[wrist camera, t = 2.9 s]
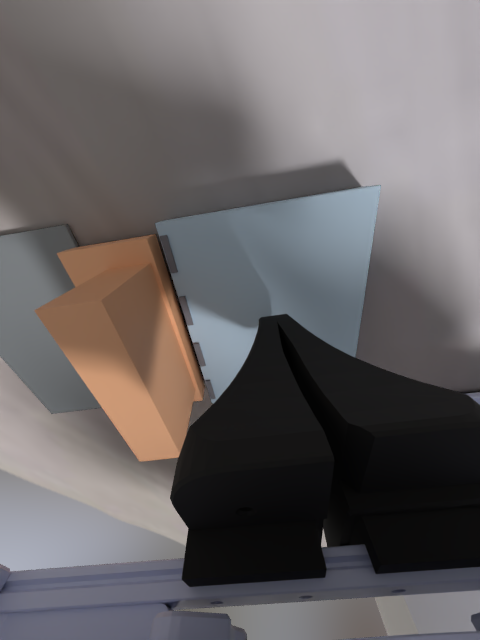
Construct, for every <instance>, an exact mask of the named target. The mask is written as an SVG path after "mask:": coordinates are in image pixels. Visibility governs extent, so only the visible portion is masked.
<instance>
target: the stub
mask: <svg viewBox="0 0 480 640" xmlns="http://www.w3.org/2000/svg"><path fill="white" fill-rule="evenodd" d="M57 255H58V257H59V259H60V261H61V262H62V264H63V266H64V268H65V269H66V271H67V273H68V275H69V277H70V278H71V280H72V282H73V284H74V286H75V288H73V289H72V290H70V291H68V292H66V293H64V294H63V295H61V296H59V297H57V298H55V299H54V300H52V301H50V302H48V303H46V304H45V305H43V306H41V307H39V308H37V309H36V310H34V311H35V313H36V314H37V316H38V317H39V318H40V320H41V321H42V323H43V324H44V326H45V327H46V328H47V330H48V331H49V333H50V334H51V336H52V337H53V338H54V340H55V341H56V343H57V344H58V346H59V347H60V348H61V350H62V351H63V353H64V354H65V356H66V357H67V358H68V360H69V361H70V363H71V364H72V366H73V367H74V368H75V370H76V371H77V373H78V374H79V376H80V377H81V378H82V380H83V381H84V383H85V384H86V386H87V387H88V388H89V390H90V391H91V393H92V394H93V395H94V397H95V398H96V400H97V401H98V403H99V404H100V405H101V407H102V408H103V410H104V411H105V413H106V414H107V415H108V417H109V418H110V420H111V421H112V423H113V424H114V425H115V427H116V428H117V430H118V431H119V433H120V434H121V435H122V437H123V438H124V440H125V441H126V443H127V444H128V445H129V447H130V448H131V450H132V451H133V453H134V454H135V455H136V457H137V458H138V460H139V461H140V462H141V461H151V460H160V459H170V458H179V455H180V452H181V449H182V446H183V443H184V440H185V437H186V434H187V429H188V424H189V419H190V414H191V410H192V405H193V401H202V400H203V394H204V388H205V385H204V382H203V379H202V376H201V373H200V370H199V367H198V364H197V360H196V357H195V354H194V351H193V348H192V345H191V342H190V339H189V336H188V333H187V329H186V326H185V323H184V320H183V317H182V314H181V311H180V308H179V305H178V301H177V298H176V295H175V292H174V289H173V286H172V283H171V280H170V277H169V273H168V270H167V267H166V264H165V261H164V258H163V255H162V252H161V249H160V246H159V242H158V239H157V236H156V234H154V235H148V236H142V237H136V238H130V239H124V240H118V241H112V242H106V243H100V244H94V245H87V246H81V247H75V248H72V249H69V250H65V251H62V252H59V253H57Z"/></svg>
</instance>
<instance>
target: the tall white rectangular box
mask: <svg viewBox="0 0 480 640" xmlns="http://www.w3.org/2000/svg"><path fill="white" fill-rule="evenodd" d="M375 600H376V603H377V606H378V609H379V611H380V614H381V617H382V620H383V623H384V626H385V628H386V631H387V634H388V636H394V635H410V634H428V633H447V632H467V631H476V629H475V627H474V626H473V624H472V622H471V615H473V614H476V613H480V590H477V591H462V592H446V593H430V594H415V595H399V596H383V597H375Z"/></svg>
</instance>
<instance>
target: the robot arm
mask: <svg viewBox="0 0 480 640" xmlns="http://www.w3.org/2000/svg"><path fill="white" fill-rule="evenodd" d="M170 499H171V501H172V504H173V506H174V508H175V509H176V511H177V512H178V514H179V515H180V517H181V518H182V520H183V521H184V522H185V524H186V525H187V527H188V528H189V529H188V536H187V543H186V551H185V558H180V559H167V560H154V561H141V562H128V563H115V564H102V565H89V566H76V567H64V568H50V569H37V570H26V571H25V570H24V571H12V572H10V569H9V568H7V567H5V566H3V565H1V564H0V640H247V634H246V632H245V630H244V629H242V628H239V627H236V626H233V625H231V619H230V618H229V616H228V615H227V614H221V613H220V614H219V613H204V612H190V611H174V610H178V609H179V610H180V609H194V608H210V607H226V606H241V605H258V604H273V603H288V602H304V601H319V600H320V601H321V600H336V599H352V598H367V597H383V596H399V595H415V594H430V593H446V592H462V591H477V590H480V392H476V393H467V394H463V393H459V392H455V391H452V390H448V389H444V388H441V387H437V386H434V385H430V384H426V383H423V382H419V381H416V380H413V379H410V378H407V377H404V376H401V375H398V374H395V373H392V372H389V371H386V370H384V369H381V368H378V367H376V366H373V365H371V364H369V363H366V362H364V361H361V360H359V359H357V358H355V357H353V356H350V355H348V354H347V353H345V352H343V351H341V350H339V349H337V348H335V347H333V346H331V345H330V344H328V343H326V342H325V341H323V340H322V339H320V338H318V337H317V336H315V335H314V334H312V333H311V332H310V331H308V330H307V329H305V328H304V327H303V326H302V325H300V324H299V323H298V322H296V321H295V320H294V319H293V318H291V317H290V316H289V315H288V314H281V315H274V316H266V317H261V318H260V319H259V326H258V330H257V334H256V337H255V340H254V343H253V345H252V348H251V350H250V352H249V354H248V356H247V358H246V360H245V362H244V364H243V366H242V367H241V369H240V370H239V372H238V373H237V375H236V376H235V378H234V379H233V381H232V382H231V383H230V385H229V386H228V387H227V389H226V390H225V391H224V392H223V393H222V394H221V396H220V397H219V398H218V399H217V400H216V402H215V403H214V404H213V405H212V406H211V407H210V408H209V409H208V410H207V411H206V412H205V413H204V414H203V415H202V416H201V417H200V418H199V419H198V420H197V421H196V422H195V423H194V424H192V425H191V426H190V427H189V430H188V432H187V435H186V437H185V440H184V443H183V446H182V449H181V452H180V455H179V458H178V462H177V466H176V471H175V476H174V481H173V486H172V491H171V496H170ZM323 529H324V533H325V538H326V542H327V547H323V548H321V540H322V531H323ZM471 622H472V624H473V626H474V627H475V629H476V631H467V632H447V633H428V634H410V635H394V636H382V637H381V636H380V637H368V638H367V637H366V638H353V639H341V640H480V613H476V614H473V615H471Z"/></svg>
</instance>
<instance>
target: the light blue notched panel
mask: <svg viewBox="0 0 480 640" xmlns="http://www.w3.org/2000/svg"><path fill="white" fill-rule="evenodd" d="M380 189H381V185H376V186H365V187H358V188H352V189H346V190H340V191H334V192H328V193H322V194H316V195H310V196H305V197H299V198H293V199H287V200H281V201H275V202H269V203H263V204H257V205H251V206H245V207H240V208H234V209H228V210H222V211H216V212H210V213H204V214H198V215H192V216H186V217H180V218H175V219H169V220H164V221H160V222H157V223H155V225H156V228H157V232H158V235H159V238H160V241H161V244H162V247H163V251H164V254H165V257H166V260H167V263H168V266H169V270H170V273H171V276H172V279H173V282H174V285H175V288H176V292H177V295H178V298H179V301H180V304H181V307H182V311H183V314H184V317H185V320H186V323H187V326H188V330H189V333H190V336H191V339H192V342H193V345H194V349H195V352H196V355H197V358H198V361H199V364H200V367H201V371H202V374H203V377H204V380H205V383H206V386H207V390H208V393H209V396H210V399H211V402H212V403H215V402H216V400H217V399H218V398H219V397H220V396H221V394H222V393H223V392H224V391H225V390H226V389H227V387H228V386H229V385H230V383H231V382H232V381H233V379H234V378H235V376H236V375H237V373H238V372H239V370H240V369H241V367H242V366H243V364H244V362H245V360H246V358H247V356H248V354H249V352H250V350H251V348H252V345H253V343H254V340H255V337H256V334H257V330H258V326H259V319H260V318H261V317H266V316H274V315H281V314H288V315H289V316H290V317H291V318H293V319H294V320H295V321H296V322H298V323H299V324H300V325H302V326H303V327H304V328H305V329H307V330H308V331H310V332H311V333H312V334H314V335H315V336H317V337H318V338H320V339H322V340H323V341H325V342H326V343H328V344H330V345H331V346H333V347H335V348H337V349H339V350H341V351H343V352H345V353H347V354H348V355H350V356H353V357H356V350H357V343H358V337H359V330H360V323H361V316H362V310H363V303H364V296H365V290H366V283H367V276H368V269H369V263H370V256H371V249H372V242H373V236H374V229H375V222H376V216H377V209H378V202H379V195H380Z"/></svg>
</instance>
